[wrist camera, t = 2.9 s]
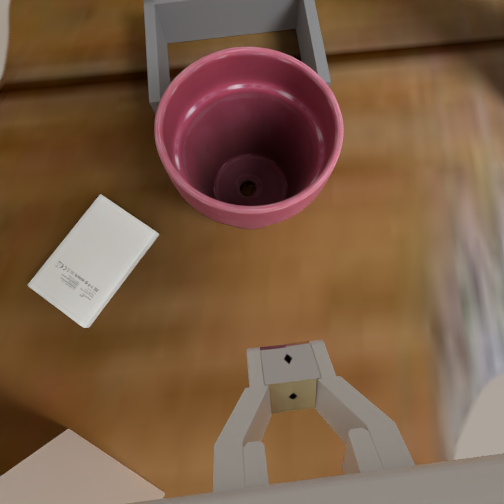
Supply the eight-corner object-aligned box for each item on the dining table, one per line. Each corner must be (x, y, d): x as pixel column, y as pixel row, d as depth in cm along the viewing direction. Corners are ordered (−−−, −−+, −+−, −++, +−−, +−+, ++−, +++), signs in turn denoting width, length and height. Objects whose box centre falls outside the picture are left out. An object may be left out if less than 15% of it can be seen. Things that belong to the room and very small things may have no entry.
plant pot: (324, 153, 35) (362, 64, 23) (297, 265, 32) (322, 235, 20) (210, 125, 36) (185, 26, 24) (174, 232, 33) (124, 185, 21)
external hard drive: (161, 235, 34) (91, 327, 32) (106, 198, 35) (35, 285, 33) (156, 231, 32) (83, 328, 30) (99, 192, 33) (24, 284, 31)
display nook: (303, 20, 39) (310, -22, 34) (320, 113, 36) (330, 81, 31) (157, 36, 39) (143, -3, 34) (163, 131, 36) (149, 102, 31)
